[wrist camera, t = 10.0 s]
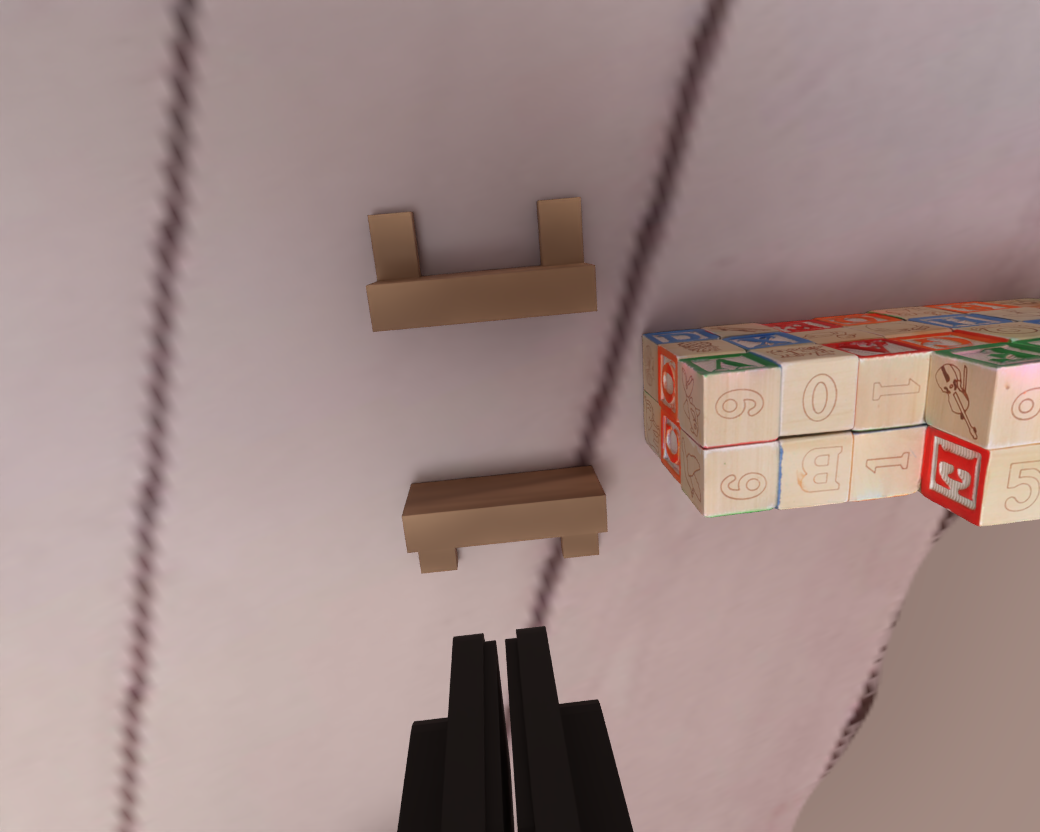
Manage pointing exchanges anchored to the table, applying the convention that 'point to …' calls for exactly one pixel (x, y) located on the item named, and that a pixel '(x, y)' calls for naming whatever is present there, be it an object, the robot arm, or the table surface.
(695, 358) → the stack of blocks
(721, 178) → the table surface
